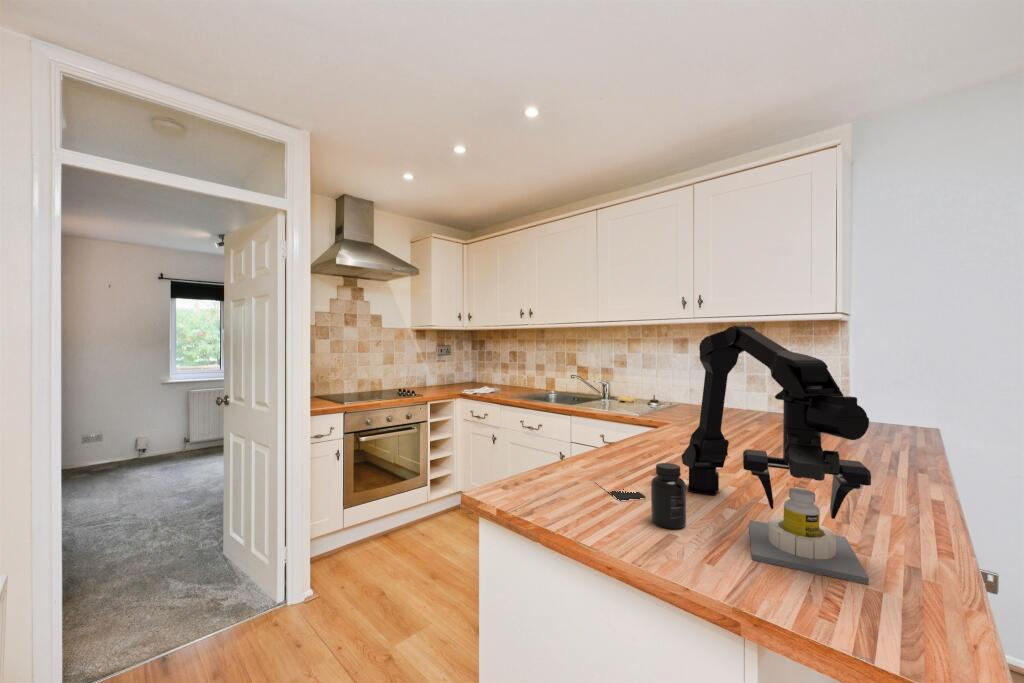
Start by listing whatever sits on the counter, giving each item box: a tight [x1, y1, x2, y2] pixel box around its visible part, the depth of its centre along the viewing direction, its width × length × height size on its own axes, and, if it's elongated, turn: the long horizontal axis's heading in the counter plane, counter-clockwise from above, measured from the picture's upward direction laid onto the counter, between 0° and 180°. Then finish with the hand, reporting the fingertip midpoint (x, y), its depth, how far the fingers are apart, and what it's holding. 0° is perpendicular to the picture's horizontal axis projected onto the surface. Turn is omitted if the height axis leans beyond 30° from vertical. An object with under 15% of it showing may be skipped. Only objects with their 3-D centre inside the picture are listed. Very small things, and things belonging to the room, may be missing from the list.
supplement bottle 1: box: [650, 462, 687, 530], centre depth 89 cm, size 7×7×12 cm
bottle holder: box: [748, 516, 870, 585], centre depth 78 cm, size 16×16×4 cm
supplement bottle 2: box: [783, 487, 821, 538], centre depth 78 cm, size 5×5×10 cm
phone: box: [610, 489, 646, 500], centre depth 109 cm, size 7×1×15 cm
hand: (801, 513), depth 77 cm, fingers open, 9 cm apart
